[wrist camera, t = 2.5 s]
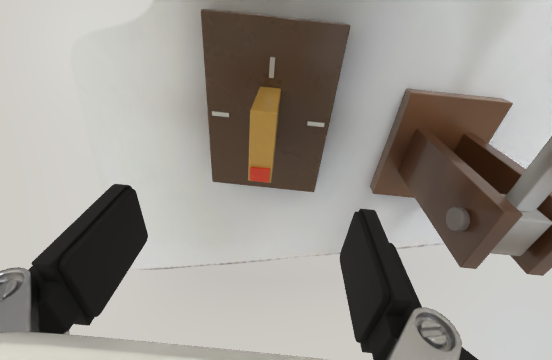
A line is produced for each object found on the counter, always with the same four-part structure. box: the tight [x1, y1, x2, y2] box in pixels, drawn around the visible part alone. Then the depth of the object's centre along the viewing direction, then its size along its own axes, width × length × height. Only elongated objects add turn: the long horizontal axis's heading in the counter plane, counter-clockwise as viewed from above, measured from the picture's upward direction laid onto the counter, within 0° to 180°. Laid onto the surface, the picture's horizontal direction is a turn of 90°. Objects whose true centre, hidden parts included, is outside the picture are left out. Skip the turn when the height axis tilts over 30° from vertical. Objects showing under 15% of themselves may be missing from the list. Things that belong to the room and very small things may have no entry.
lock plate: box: [201, 9, 350, 192], centre depth 21 cm, size 14×10×2 cm
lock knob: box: [248, 87, 281, 183], centre depth 18 cm, size 5×2×6 cm, turn 175°
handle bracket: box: [370, 89, 552, 275], centre depth 18 cm, size 10×8×12 cm
